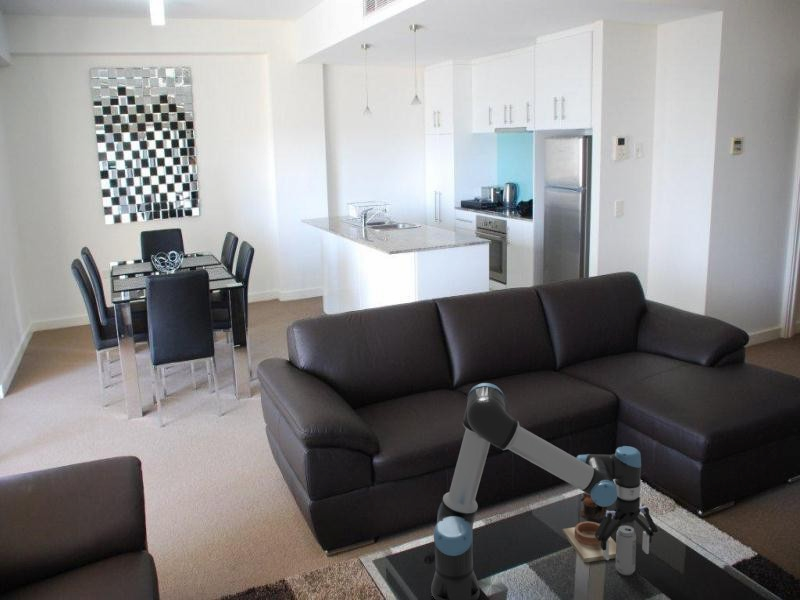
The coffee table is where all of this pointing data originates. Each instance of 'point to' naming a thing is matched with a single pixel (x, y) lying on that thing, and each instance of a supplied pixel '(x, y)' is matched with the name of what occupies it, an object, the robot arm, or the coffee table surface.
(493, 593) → the coffee table surface
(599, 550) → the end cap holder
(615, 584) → the coffee table surface
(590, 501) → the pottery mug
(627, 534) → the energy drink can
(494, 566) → the coffee table surface
